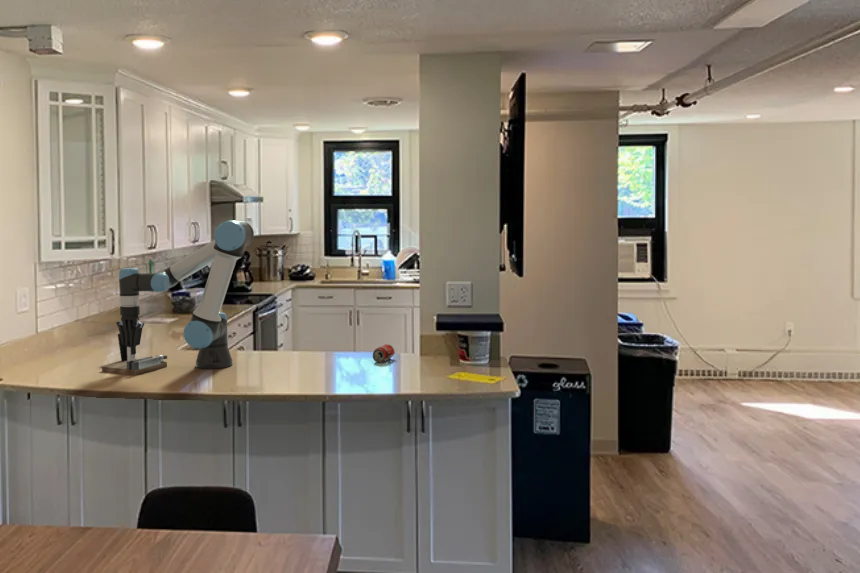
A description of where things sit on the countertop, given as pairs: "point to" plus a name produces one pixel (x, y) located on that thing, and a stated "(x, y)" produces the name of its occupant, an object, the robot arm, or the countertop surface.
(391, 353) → the beverage can
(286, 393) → the countertop surface
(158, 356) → the tongs fixed
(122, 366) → the board
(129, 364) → the tong arm
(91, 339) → the countertop surface
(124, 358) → the cup
